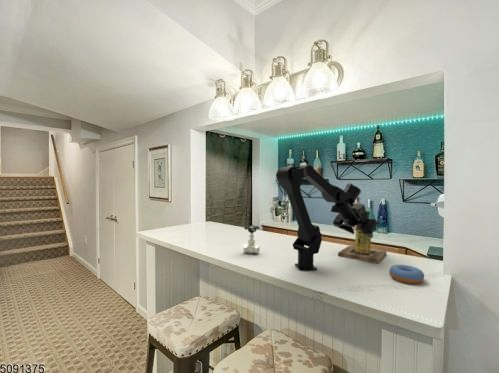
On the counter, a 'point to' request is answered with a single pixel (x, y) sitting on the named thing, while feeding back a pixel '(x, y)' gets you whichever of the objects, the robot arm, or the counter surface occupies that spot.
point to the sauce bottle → (362, 238)
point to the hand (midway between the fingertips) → (362, 235)
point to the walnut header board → (375, 258)
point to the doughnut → (406, 274)
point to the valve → (251, 241)
